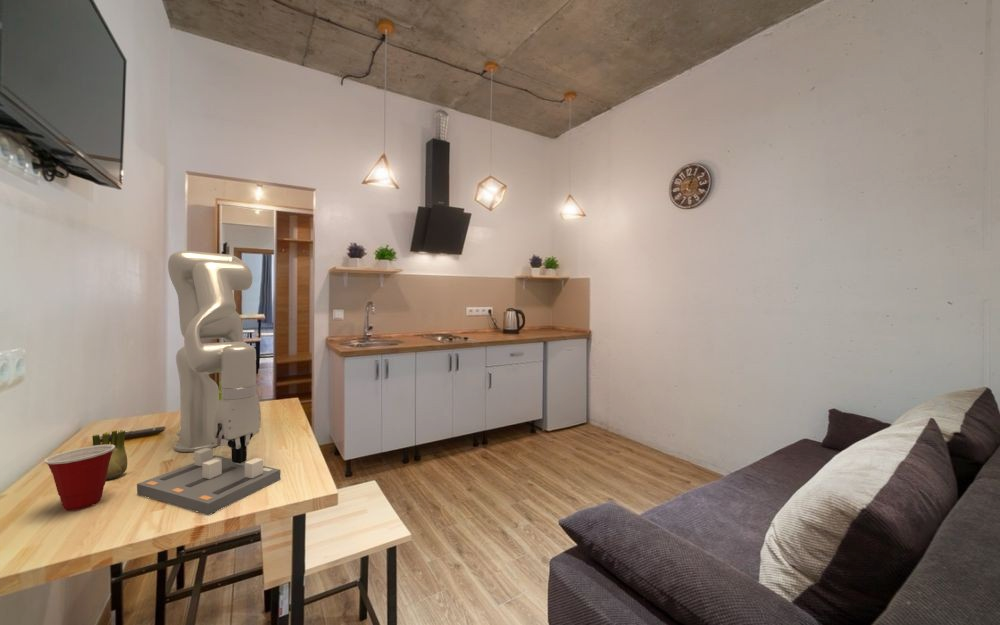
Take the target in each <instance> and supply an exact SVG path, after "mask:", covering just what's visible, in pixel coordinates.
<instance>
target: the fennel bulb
mask: <svg viewBox="0 0 1000 625" xmlns="http://www.w3.org/2000/svg"><path fill="white" fill-rule="evenodd" d="M110 434H111V438H110ZM101 435H102V438H100V433H95V434H93V435H92V446H96V445H114V446H115V448H114V450H113V452H112V455H111V459H110V462H109V467H108V472H107V477H106V481H107V480H108V481H109V480H113V479H116V478H119V477H121V476H122V475H123V474H124V473H125V472H126V470H127V469H128V456H127V452H126V447H125V437H126V436H125V435H126V430H122V429H121V430H117V429H112V430H111V432H110V431H107V432H106V431H105V432H103V433H102V434H101ZM101 439H102V441H101Z"/></svg>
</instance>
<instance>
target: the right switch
mask: <svg viewBox="0 0 1000 625" xmlns="http://www.w3.org/2000/svg"><path fill="white" fill-rule="evenodd" d="M263 466H264V459H263V458H257V457H256V458H252V459H249V460H248V461H245V477H248V478H254V477H256V476H258V475H260V474H263Z"/></svg>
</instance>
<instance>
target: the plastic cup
mask: <svg viewBox="0 0 1000 625" xmlns="http://www.w3.org/2000/svg"><path fill="white" fill-rule="evenodd" d="M114 448H115V446H114V445H111V444H109V445H102V444H101V445H96V446H93V445H92V446H85V447H79V448H75V449H70V450H66V451H64V452H63V451H62V452H60V453H57V454H54V455H51V456H48V457H47V458H45V459H44V460H43V461H44V463H45V464H46V465H47V466H48V468H49V469H50V472H51V474H52V478H53V480H54V483H55V487H56V492H57V494H58V496H59V499H60V502H61V506H62V508H63V510H64V511H68V512H72V511H80V510H84V509H86V508H90V507H93V506H95V505H96V504H98V503H100V501H101V500H102V498H103V493H104V489H105V485H106V481H107V480H106V477H107V472H108V467H109V462H110V459H111V455H112V452H113V450H114Z"/></svg>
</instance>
